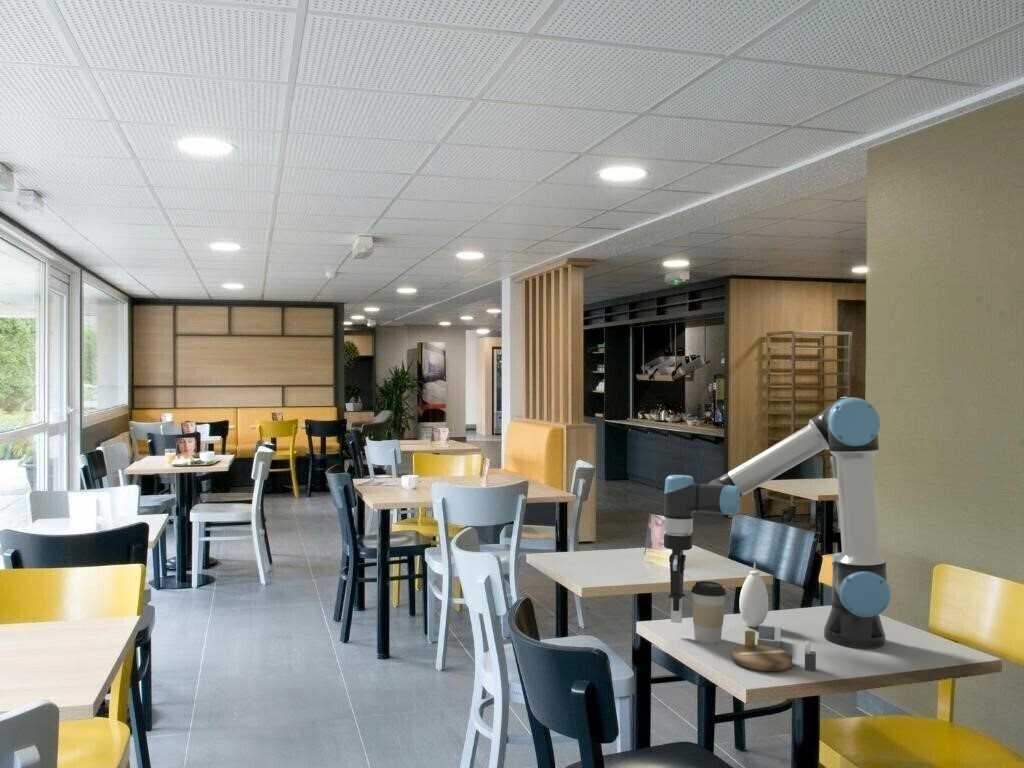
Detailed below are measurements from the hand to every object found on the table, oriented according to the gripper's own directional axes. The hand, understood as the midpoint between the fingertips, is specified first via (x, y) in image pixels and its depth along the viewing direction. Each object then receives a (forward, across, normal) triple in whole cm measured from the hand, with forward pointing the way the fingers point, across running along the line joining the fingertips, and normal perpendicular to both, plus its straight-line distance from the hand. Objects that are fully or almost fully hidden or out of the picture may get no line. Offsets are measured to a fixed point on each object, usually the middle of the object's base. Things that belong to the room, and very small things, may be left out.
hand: (676, 621), depth 223 cm
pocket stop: (+4, 0, +24) cm, 24 cm away
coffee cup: (+4, 0, +8) cm, 9 cm away
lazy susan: (+4, +15, +22) cm, 27 cm away
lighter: (+4, +15, +33) cm, 37 cm away
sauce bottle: (+4, -18, +19) cm, 27 cm away
